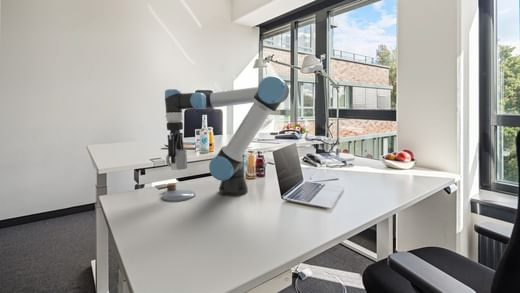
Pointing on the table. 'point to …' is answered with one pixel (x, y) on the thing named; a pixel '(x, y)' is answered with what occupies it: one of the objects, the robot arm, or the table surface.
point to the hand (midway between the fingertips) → (177, 168)
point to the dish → (178, 195)
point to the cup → (179, 159)
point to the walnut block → (171, 187)
